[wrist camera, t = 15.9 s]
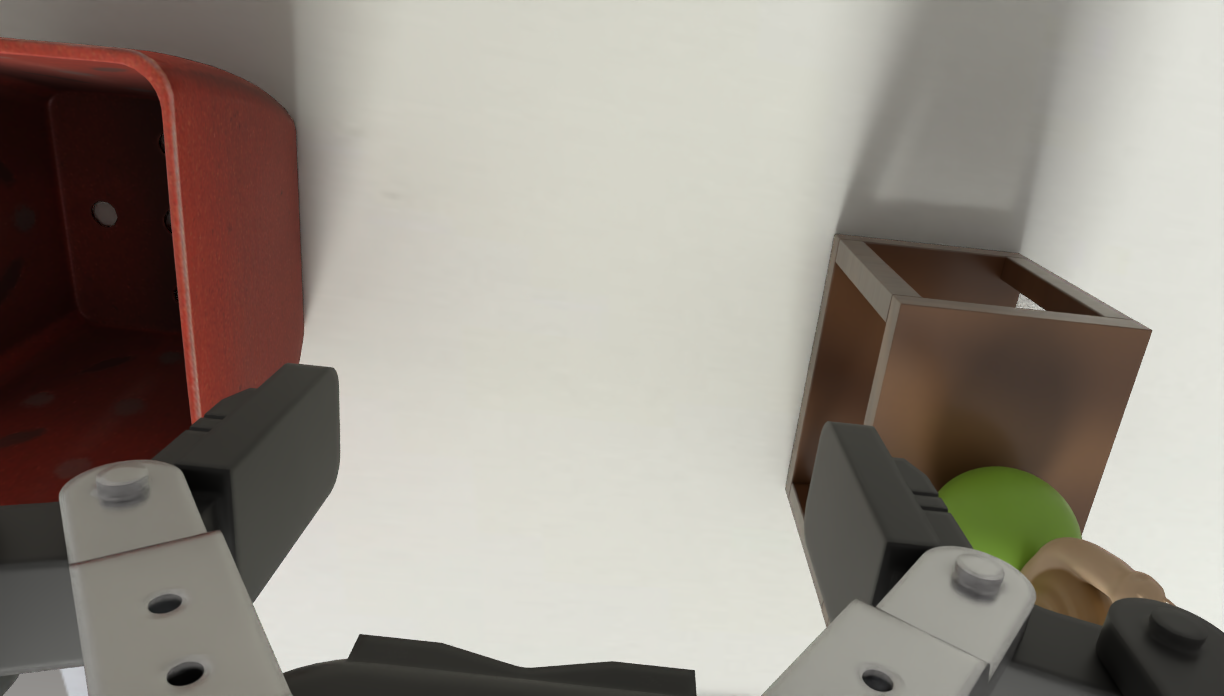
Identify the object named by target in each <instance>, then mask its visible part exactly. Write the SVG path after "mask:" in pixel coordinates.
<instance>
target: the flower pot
mask: <svg viewBox="0 0 1224 696" xmlns="http://www.w3.org/2000/svg"><path fill="white" fill-rule="evenodd" d="M162 133H164V143H165V154H164V153H163V152H162V150H161V148H160V145H159V139H160V136H161V134H162ZM98 201H104V202H108V203H109V204H110V205H112V206H113V207H114V208H115V211H116V214H117V221H116V223H115V224H114V225H113V226H111V227H104V226H101V225H100V224H98V223H97V222H96V221H95V220H94V218H93V216H92V206H93V205H94V204H95V203H96V202H98ZM169 209H170V215H171V227H172V233H170V231H169V230H168V229H167V228H166V225H165V222H164V217H165V215H166V213H167V211H168V210H169ZM176 287H177V289H178V299H179V302H178V301H177V300H176V299H175V297H174V290H176ZM303 336H304V318H303V293H302V268H301V244H300V219H299V194H298V171H297V146H296V128H295V125H294V121H293V120H292V118H291V116H290V115H289V114H288V112H287V111H286V110H285V108H283V107H282V106H281V105H280V104H279V103H278V102H277V101H276V100H275V99H274V98H273V97H271V96H270V95H269V94H267V93H266V92H265V91H263V90H262V89H260V88H259V87H257V86H256V85H254V84H252V83H250V82H248V81H246V80H244V79H242V78H240V77H238V76H236V75H234V74H231V73H229V72H226V71H224V70H221V69H218V68H216V67H213V66H210V65H206V64H203V63H199V62H195V61H191V60H188V59H184V58H180V57H176V56H171V55H167V54H162V53H157V52H151V51H143V50H135V49H127V48H116V47H105V46H95V45H84V44H72V43H60V42H48V41H36V40H25V39H14V38H3V37H0V506H3V505H18V504H33V503H48V502H58V501H59V493H60V491H61V489H62V487H63V486H64V485H65V484H66V483H67V482H68V481H70V480H71V479H72V478H74V477H76V476H77V475H79V474H81V473H83V472H85V471H87V470H90V469H93V468H95V467H98V466H102V465H105V464H110V463H114V462H120V461H127V460H151V459H152V458H153V457H154V456H156V455H157V454H158V453H159V452H160V451H161V450H163V449H164V448H165V447H166V446H167V445H169V444H170V443H171V442H172V441H173V440H175V439H176V438H177V437H178V436H179V435H180V434H182V433H183V432H184V431H185V430H189V429H190V426H191V425H192V424H193V423H195V422H196V421H197V420H198V419H199V418H201V417H202V418H204V414H205V413H206V412H208V411H209V410H210V409H211V408H212V407H214V406H215V405H216V404H217V403H218V402H219V401H221V400H222V399H224V398H227V397H229V396H231V395H234V394H236V393H239V392H241V391H243V390H246V389H248V388H258V387H260V386H261V385H262V384H263V383H264V382H265V381H266V380H267V379H268V378H270V377H271V376H272V375H273V374H274V373H275V372H276V371H277V370H279V369H280V368H281V367H282V366H283V365H284V364H286V363H295V364H299V361H300V355H301V349H302V343H303Z"/></svg>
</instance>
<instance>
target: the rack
mask: <svg viewBox="0 0 1224 696" xmlns="http://www.w3.org/2000/svg"><path fill="white" fill-rule="evenodd" d="M1020 293H1021V294H1023V295H1024V296H1026V297H1027V298H1029V299H1030V300H1032V301H1033V302H1034V303H1036V304H1037V305H1039V306H1040V307H1042V308H1043V309H1045V310H1046V311H1042V310H1033V309H1023V308H1016V304H1017V301H1018V297H1019V294H1020ZM1151 333H1152V330H1151V329H1149V328H1147V327H1146V326H1144V325H1142V324H1141V323H1139V322H1137V321H1135V320H1133V319H1131V318H1130V317H1128V316H1126V315H1124V314H1123V313H1121V312H1119V311H1118V310H1116V309H1114V308H1112V307H1111V306H1109V305H1107V304H1106V303H1104V302H1102V301H1100V300H1099V299H1097V298H1095V297H1093V296H1092V295H1090V294H1088V293H1087V292H1085V291H1083V290H1081V289H1080V288H1078V287H1076V286H1075V285H1073V284H1071V283H1069V282H1068V281H1066V280H1064V279H1062V278H1061V277H1059V276H1057V275H1056V274H1054V273H1052V272H1050V271H1049V270H1047V269H1045V268H1044V267H1042V266H1040V265H1038V264H1037V263H1035V262H1033V261H1032V260H1030V259H1028V258H1026V257H1025V256H1023V255H1021V254H1019V253H1012V252H1002V251H993V250H983V249H974V248H964V247H955V246H945V245H936V244H926V243H917V242H907V241H898V240H888V239H879V238H869V237H860V236H850V235H841V234H835V236H834V241H833V246H832V251H831V256H830V262H829V267H828V272H827V277H826V282H825V287H824V292H823V298H822V303H821V308H820V313H819V318H818V323H817V328H816V333H815V339H814V344H813V349H812V354H811V359H810V364H809V369H808V375H807V380H806V385H805V390H804V395H803V400H802V405H801V410H800V416H799V421H798V426H797V431H796V436H795V441H794V446H793V452H792V457H791V462H790V467H789V472H788V477H787V482H786V487H785V490H786V494H787V497H788V500H789V503H790V507H791V510H792V513H793V516H794V520H795V523H796V526H797V530H798V533H799V536H800V540H801V543H802V546H803V550H804V553H805V556H806V560H807V563H808V566H809V569H810V573H811V576H812V579H813V583H814V586H815V589H816V593H817V596H818V599H819V603H820V606H821V609H822V614H823V617H824V620H825V624H826V627H828V626H829V624H830V621H829V617H828V614H827V611H826V608H825V604H824V601H823V598H822V595H821V591H820V588H819V585H818V582H817V579H816V575H815V572H814V569H813V566H812V562H811V559H810V556H809V553H808V550H807V546H806V543H805V536H804V516H805V507H806V502H807V497H808V492H809V487H810V483H811V478H812V473H813V468H814V463H815V458H816V453H817V449H818V444H819V439H820V435H821V431H822V428H823V426H824V424H825V423H826V422H827V421H831V422H840V423H850V424H859V425H869V426H873V427H875V429H876V430H877V432H878V434H879V436H880V437H881V439H882V441H883V442H884V444H885V446H886V448H887V449H888V451H889V453H890V455H891V456H892V457H895V458H904V459H906V460H907V461H908V462H910V463H911V464H912V465H914V466H915V467H916V468H917V469H919V470H920V471H921V472H923V473H924V474H925V475H927V476H928V478H929V479H930V481H931V483H932V484H933V486H934V487H935V489H936V490H937V492H939V490H940V489H941V488H942V487H943V486H944V485H945V484H946V483H948V482H949V481H950V480H952V479H953V478H955V477H956V476H958V475H960V474H962V473H964V472H967V471H970V470H973V469H977V468H982V467H990V466H1000V467H1009V468H1015V469H1018V470H1022V471H1025V472H1028V473H1030V474H1032V475H1034V476H1036V477H1038V478H1040V479H1042V480H1043V481H1045V482H1046V483H1048V484H1049V485H1050V486H1052V487H1053V488H1054V489H1055V490H1056V491H1057V492H1058V493H1059V494H1060V495H1061V496H1062V497H1063V498H1064V499H1065V501H1066V502H1067V503H1068V505H1069V506H1070V508H1071V509H1072V511H1073V513H1074V515H1075V517H1076V519H1077V522H1078V524H1079V528H1080V532H1081V536H1082V533H1083V530H1084V527H1085V524H1086V521H1087V518H1088V515H1089V513H1090V510H1091V507H1092V504H1093V501H1094V498H1095V495H1096V492H1097V489H1098V486H1099V484H1100V481H1101V478H1102V475H1103V472H1104V469H1105V466H1106V463H1107V460H1108V457H1109V455H1110V452H1111V449H1112V446H1113V443H1114V440H1115V437H1116V434H1117V431H1118V428H1119V426H1120V423H1121V420H1122V417H1123V414H1124V411H1125V408H1126V405H1127V402H1128V400H1129V397H1130V394H1131V391H1132V388H1133V385H1134V382H1135V379H1136V376H1137V373H1138V371H1139V368H1140V365H1141V362H1142V359H1143V356H1144V353H1145V350H1146V347H1147V344H1148V342H1149V339H1150V336H1151Z"/></svg>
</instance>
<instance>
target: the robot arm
mask: <svg viewBox="0 0 1224 696" xmlns="http://www.w3.org/2000/svg"><path fill="white" fill-rule="evenodd" d="M339 463H340V419H339V381H338V375H337V372H336V370H335V369H334V368H332V367H323V366H313V365H304V364H295V363H286V364H284V365H283V366H282V367H281V368H280V369H279V370H277V371H276V372H275V373H274V374H273V375H272V376H271V377H270V378H268V379H267V380H266V381H265V382H264V383H263V384H262V385H261V386H260V387H258V388H248V389H246V390H243V391H241V392H239V393H236V394H234V395H231V396H229V397H227V398H224V399H222V400H221V401H219V402H218V403H217V404H216V405H215V406H214V407H212V408H211V409H210V410H209V411H208V412H206V413H205V414H204V418H202V417H201V418H199V419H198V420H197V421H196V422H195V423H193V424H192V425H191V426H190V429H189V430H185V431H184V432H183V433H182V434H180V435H179V436H178V437H177V438H176V439H175V440H173V441H172V442H171V443H170V444H169V445H167V446H166V447H165V448H164V449H163V450H161V451H160V452H159V453H158V454H157V455H156V456H154V457H153V458H152V459H151V460H127V461H120V462H114V463H110V464H105V465H102V466H98V467H95V468H93V469H90V470H87V471H85V472H83V473H81V474H79V475H77V476H76V477H74V478H72V479H71V480H70V481H68V482H67V483H66V484H65V485H64V486H63V487H62V489H61V491H60V493H59V501H58V502H48V503H33V504H18V505H3V506H0V696H3V694H4V693H5V692H6V691H7V690H8V689H9V688H10V687H11V685H12V684H13V683H14V682H15V680H16V679H17V678H18V676H19V674H23V673H31V672H39V671H47V670H55V669H64V668H72V667H80V666H84V669H85V676H86V682H87V689H88V696H696V682H695V670H687V669H678V668H669V667H660V666H650V665H641V664H632V663H623V662H613V661H611V662H598V663H586V664H573V665H561V666H548V667H536V668H524V667H518V666H514V665H511V664H508V663H505V662H501V661H498V660H495V659H492V658H489V657H485V656H482V655H479V654H476V653H472V652H469V651H466V650H463V649H460V648H456V647H453V646H450V645H447V644H444V643H437V642H428V641H419V640H410V639H400V638H391V637H382V636H372V635H363V634H360V635H359V637H358V639H357V641H356V643H355V645H354V647H353V649H352V651H351V653H350V655H349V657H348V659H341V660H334V661H328V662H322V663H316V664H312V665H308V666H304V667H300V668H296V669H293V670H291V671H288V672H285V673H282V671H281V669H280V666H279V664H278V662H277V659H276V657H275V655H274V652H273V650H272V648H271V645H270V643H269V641H268V638H267V636H266V634H265V632H264V629H263V627H262V625H261V622H260V620H259V618H258V615H257V613H256V611H255V608H254V606H253V602H254V601H255V600H256V598H257V597H258V595H259V594H260V592H261V591H262V590H263V588H264V587H265V585H266V584H267V583H268V581H269V580H270V578H271V577H272V575H273V574H274V573H275V571H276V570H277V568H278V567H279V565H280V564H281V563H282V561H283V560H284V558H285V557H286V555H287V554H288V553H289V551H290V550H291V548H292V547H293V545H294V544H295V543H296V541H297V540H298V538H299V537H300V535H301V534H302V533H303V531H304V530H305V528H306V527H307V525H308V524H309V523H310V521H311V520H312V518H313V517H314V515H315V514H316V513H317V511H318V510H319V508H320V507H321V505H322V504H323V503H324V501H325V500H326V498H327V497H328V496H329V494H330V493H331V491H332V489H333V487H334V484H335V482H336V478H337V475H338V470H339ZM804 536H805V543H806V546H807V550H808V553H809V556H810V559H811V562H812V566H813V569H814V572H815V575H816V579H817V582H818V585H819V588H820V591H821V595H822V598H823V601H824V604H825V608H826V611H827V614H828V617H829V621H830V624H829V626H828V627H827V628H826V629H825V630H824V631H823V632H822V633H821V634H820V635H819V636H818V637H817V638H816V639H815V640H814V641H813V642H812V643H811V644H810V645H809V646H808V647H807V648H806V649H805V651H804V652H803V653H802V654H801V655H800V656H799V657H798V658H797V659H796V660H795V661H794V662H793V663H792V664H791V665H790V666H789V667H788V668H787V669H786V670H785V671H784V672H783V673H782V674H781V676H780V677H779V678H778V679H777V680H776V681H775V682H774V683H773V684H772V685H771V686H770V687H769V688H768V689H767V690H766V691H765V692H764V693H763V694H762V695H761V696H1224V633H1223V632H1222V631H1221V630H1220V629H1218V628H1217V627H1215V626H1214V625H1212V624H1211V623H1209V622H1207V621H1206V620H1204V619H1202V618H1201V617H1199V616H1197V615H1195V614H1193V613H1191V612H1189V611H1186V610H1184V609H1181V608H1179V607H1176V606H1173V605H1170V604H1168V603H1164V602H1160V601H1157V600H1152V599H1146V598H1123V599H1119V600H1117V601H1115V602H1114V603H1113V604H1111V606H1110V608H1109V611H1108V613H1107V616H1106V619H1105V621H1104V624H1103V626H1101V625H1098V624H1094V623H1091V622H1088V621H1084V620H1081V619H1077V618H1074V617H1071V616H1067V615H1064V614H1060V613H1057V612H1054V611H1051V610H1048V609H1045V608H1042V607H1040V606H1038V605H1035V601H1036V592H1035V589H1034V587H1033V585H1032V584H1031V582H1030V581H1029V580H1028V579H1027V578H1026V577H1025V576H1024V575H1023V574H1022V573H1021V572H1020V571H1019V570H1017V569H1016V568H1014V567H1013V566H1012V565H1010V564H1008V563H1006V562H1005V561H1003V560H1001V559H999V558H997V557H995V556H992V555H990V554H987V553H984V552H981V551H978V550H975V549H973V547H972V546H971V544H970V542H969V541H968V539H967V538H966V536H965V535H964V533H963V531H962V530H961V528H960V527H959V525H958V524H957V522H956V520H955V519H954V517H953V516H952V514H951V513H948V508H947V506H946V505H945V503H944V501H943V500H942V498H940V497H939V494H938V492H937V490H936V489H935V487H934V486H933V484H932V483H931V481H930V479H929V478H928V476H927V475H925V474H924V473H923V472H921V471H920V470H919V469H917V468H916V467H915V466H914V465H912V464H911V463H910V462H908V461H907V460H906V459H904V458H895V457H892V456H891V455H890V453H889V451H888V449H887V448H886V446H885V444H884V442H883V441H882V439H881V437H880V436H879V434H878V432H877V430H876V429H875V427H873V426H869V425H859V424H850V423H840V422H831V421H827V422H826V423H825V424H824V426H823V428H822V431H821V435H820V439H819V444H818V449H817V453H816V458H815V463H814V468H813V473H812V478H811V483H810V487H809V492H808V497H807V502H806V507H805V516H804Z"/></svg>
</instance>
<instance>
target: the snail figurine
mask: <svg viewBox="0 0 1224 696" xmlns="http://www.w3.org/2000/svg"><path fill="white" fill-rule="evenodd" d="M938 494H939V497H940V498H942V500H943V501H944V503H945V505H946V506H947V508H948V513H951V514H952V516H953V517H954V519H955V520H956V522H957V524H958V525H959V527H960V528H961V530H962V531H963V533H964V535H965V536H966V538H967V539H968V541H969V542H970V544H971V546H972V547H973V549H975V550H978V551H981V552H984V553H987V554H990V555H992V556H995V557H997V558H999V559H1001V560H1003V561H1005V562H1006V563H1008V564H1010V565H1012V566H1013V567H1014V568H1016V569H1017V570H1019V571H1020V572H1021V573H1022V574H1023V575H1024V576H1025V577H1026V578H1027V579H1028V580H1029V581H1030V582H1031V584H1032V585H1033V587H1034V589H1035V592H1036V601H1035V605H1038V606H1040V607H1042V608H1045V609H1048V610H1051V611H1054V612H1057V613H1060V614H1064V615H1067V616H1071V617H1074V618H1077V619H1081V620H1084V621H1088V622H1091V623H1094V624H1098V625H1101V626H1103V624H1104V621H1105V619H1106V616H1107V613H1108V611H1109V608H1110V606H1111V604H1113V603H1114V602H1115V601H1117V600H1119V599H1123V598H1146V599H1152V600H1157V601H1160V602H1164V603H1166V602H1167V603H1169V604H1170V605H1173V606H1175V605H1174V604H1173V603H1172V602H1171V601H1170V600H1168V599H1167V598H1166V597H1165V593H1164V590H1163V588H1162V587H1161V586H1160V585H1159V584H1158V583H1157V582H1156V581H1155V580H1154V579H1153V578H1152V577H1150V576H1149V575H1147V574H1145V573H1142V572H1138V571H1135V570H1133V569H1132V568H1131V567H1130V566H1129V565H1128V564H1127V563H1125V562H1124V561H1123V560H1121V559H1120V558H1118V557H1116V556H1115V555H1113V554H1111V553H1110V552H1108V551H1106V550H1105V549H1103V548H1101V547H1100V546H1098V545H1096V544H1093V543H1091V542H1088V541H1085V540H1082V537H1081V532H1080V528H1079V524H1078V522H1077V519H1076V517H1075V515H1074V513H1073V511H1072V509H1071V508H1070V506H1069V505H1068V503H1067V502H1066V501H1065V499H1064V498H1063V497H1062V496H1061V495H1060V494H1059V493H1058V492H1057V491H1056V490H1055V489H1054V488H1053V487H1052V486H1050V485H1049V484H1048V483H1046V482H1045V481H1043V480H1042V479H1040V478H1038V477H1036V476H1034V475H1032V474H1030V473H1028V472H1025V471H1022V470H1018V469H1015V468H1009V467H1000V466H990V467H982V468H977V469H973V470H970V471H967V472H964V473H962V474H960V475H958V476H956V477H955V478H953V479H952V480H950V481H949V482H948V483H946V484H945V485H944V486H943V487H942V488H941V489H940V490H939V492H938Z"/></svg>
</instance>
